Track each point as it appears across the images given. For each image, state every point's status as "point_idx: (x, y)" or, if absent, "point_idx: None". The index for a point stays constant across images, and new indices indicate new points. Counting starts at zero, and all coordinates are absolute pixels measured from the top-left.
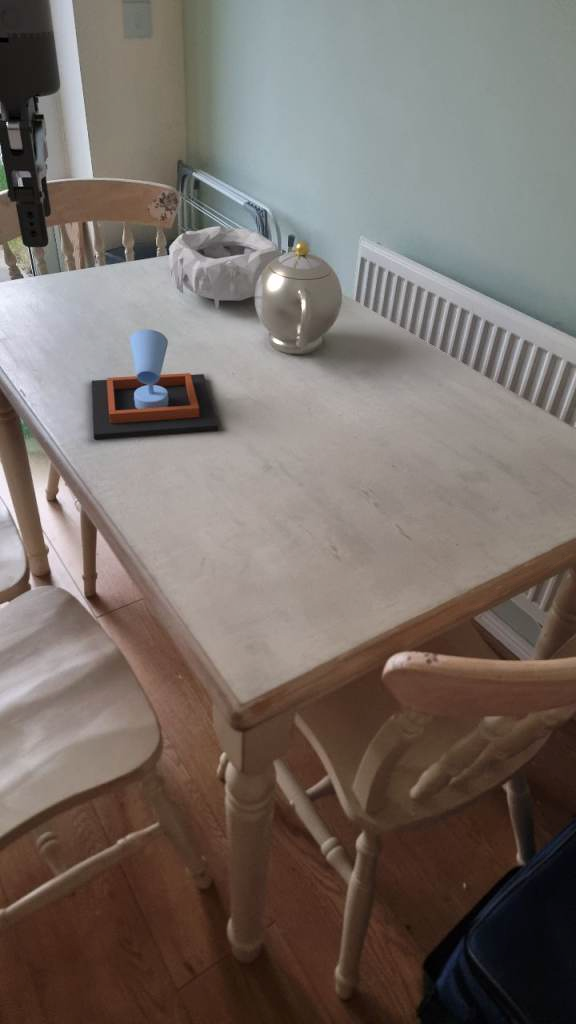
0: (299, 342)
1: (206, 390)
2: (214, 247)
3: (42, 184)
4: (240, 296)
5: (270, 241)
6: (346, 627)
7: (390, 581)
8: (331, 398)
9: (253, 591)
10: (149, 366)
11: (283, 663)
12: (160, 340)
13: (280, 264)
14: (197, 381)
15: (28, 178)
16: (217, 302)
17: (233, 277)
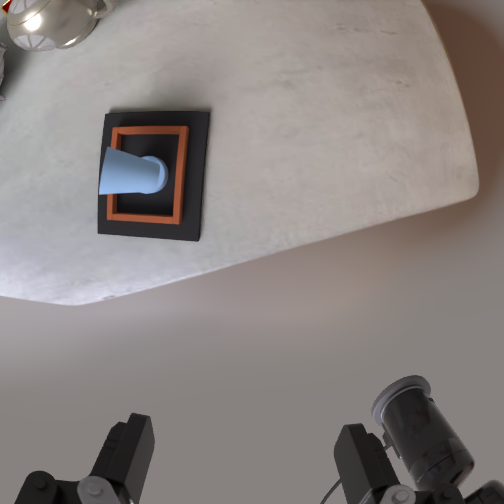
0: (111, 11)
1: (137, 113)
2: None
3: (130, 472)
4: (2, 75)
5: None
6: (456, 116)
7: (430, 69)
8: (182, 4)
9: (425, 155)
10: (152, 175)
11: (469, 163)
12: (115, 155)
13: (27, 9)
14: (118, 121)
15: (134, 499)
16: (2, 97)
17: None
